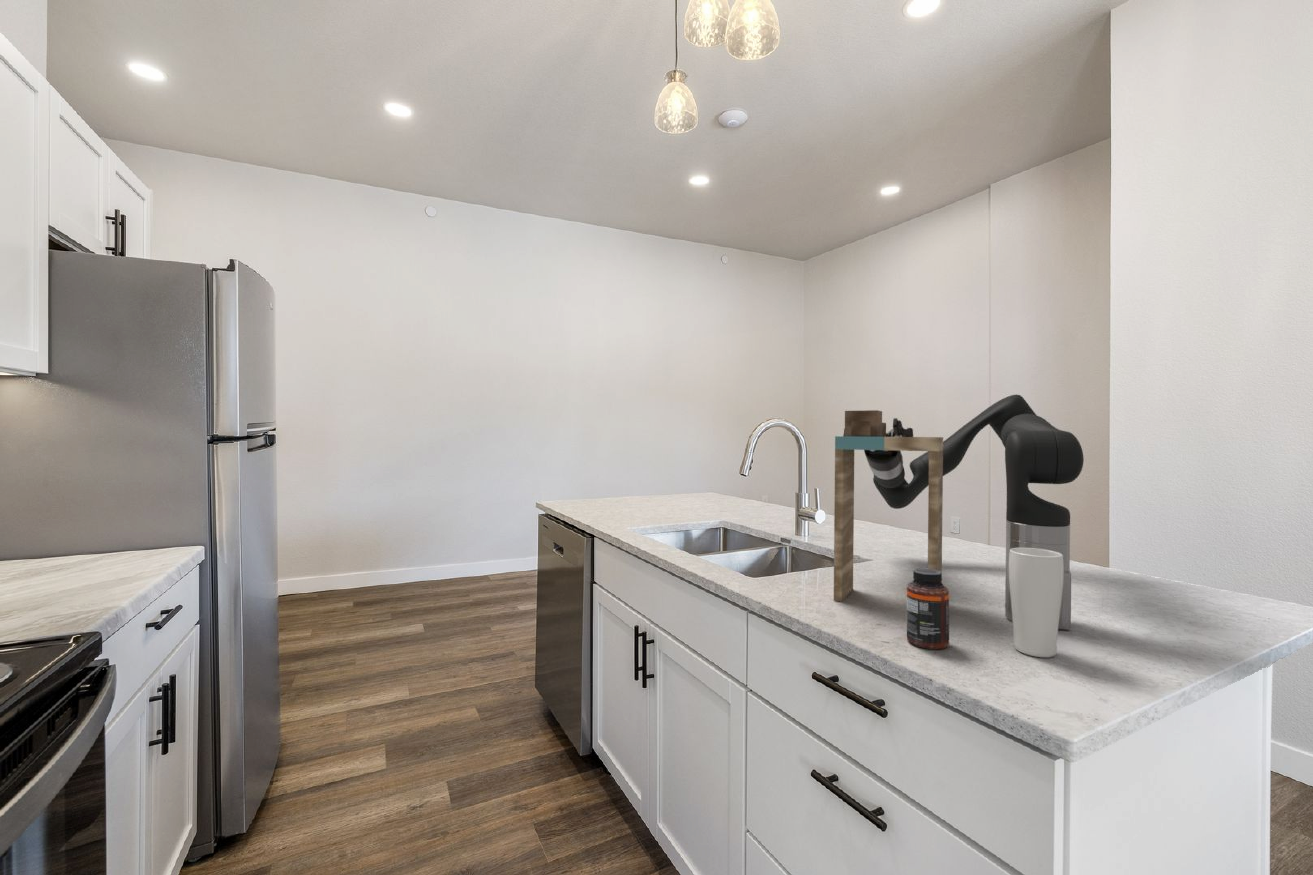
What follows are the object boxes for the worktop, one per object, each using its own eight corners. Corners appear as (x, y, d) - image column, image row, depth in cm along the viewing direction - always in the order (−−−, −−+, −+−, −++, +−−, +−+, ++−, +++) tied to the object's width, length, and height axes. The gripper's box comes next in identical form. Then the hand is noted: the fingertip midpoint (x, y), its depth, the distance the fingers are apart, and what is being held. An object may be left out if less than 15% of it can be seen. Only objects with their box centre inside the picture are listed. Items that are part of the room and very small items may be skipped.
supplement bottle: (939, 637, 89) (940, 566, 89) (955, 651, 83) (956, 576, 83) (900, 635, 89) (901, 565, 89) (914, 650, 83) (915, 574, 83)
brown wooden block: (892, 436, 120) (892, 413, 120) (877, 436, 105) (877, 410, 105) (863, 436, 123) (863, 414, 123) (844, 436, 108) (844, 410, 108)
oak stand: (941, 602, 107) (943, 437, 107) (936, 616, 99) (938, 437, 99) (845, 588, 117) (847, 436, 117) (833, 600, 108) (835, 436, 108)
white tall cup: (1064, 664, 78) (1065, 558, 78) (1007, 654, 82) (1009, 553, 82) (1060, 649, 84) (1061, 550, 84) (1007, 640, 88) (1008, 545, 88)
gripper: (916, 473, 125) (908, 437, 113) (851, 470, 132) (836, 436, 120) (918, 444, 128) (911, 406, 116) (854, 443, 136) (841, 407, 124)
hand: (873, 421), depth 118 cm, fingers open, 8 cm apart
